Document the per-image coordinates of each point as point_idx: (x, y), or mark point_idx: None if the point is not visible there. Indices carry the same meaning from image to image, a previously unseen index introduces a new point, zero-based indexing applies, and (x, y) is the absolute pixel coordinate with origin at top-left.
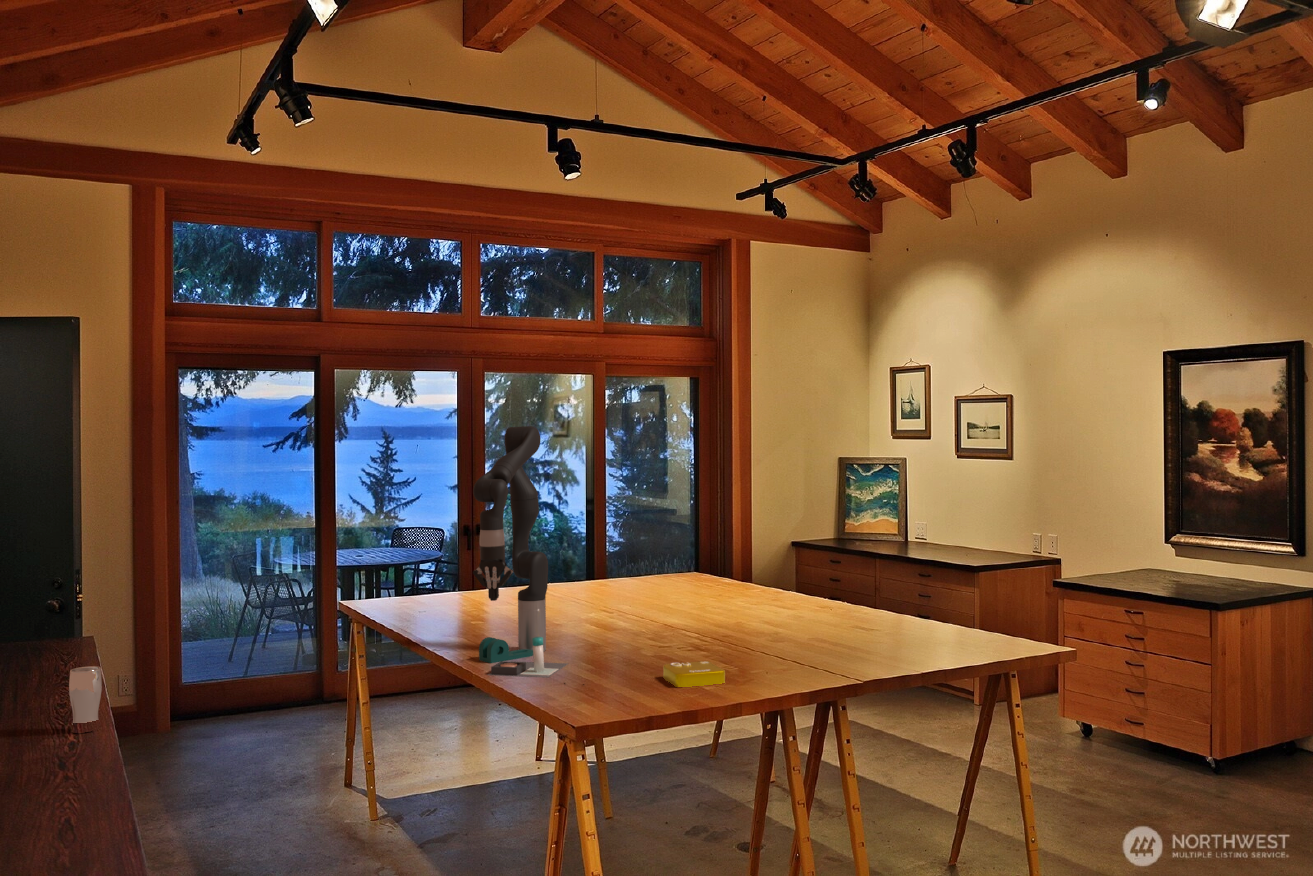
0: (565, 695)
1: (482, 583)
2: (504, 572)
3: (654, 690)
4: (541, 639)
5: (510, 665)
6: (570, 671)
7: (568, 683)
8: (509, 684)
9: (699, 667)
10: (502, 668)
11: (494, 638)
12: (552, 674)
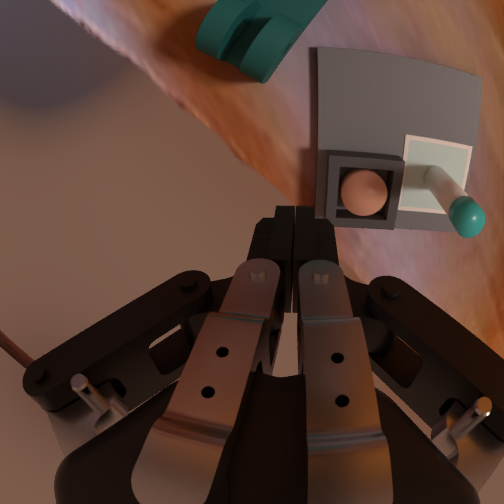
0: (471, 317)
1: (190, 348)
2: (437, 444)
3: None
4: (479, 228)
5: (371, 203)
6: (490, 137)
7: (485, 248)
8: (381, 269)
9: None
10: (355, 226)
11: (237, 16)
12: None
